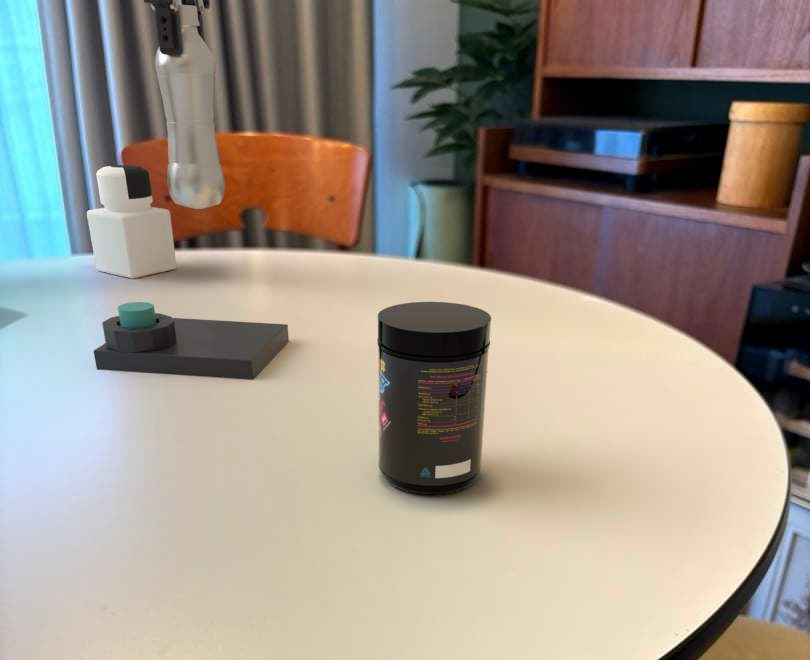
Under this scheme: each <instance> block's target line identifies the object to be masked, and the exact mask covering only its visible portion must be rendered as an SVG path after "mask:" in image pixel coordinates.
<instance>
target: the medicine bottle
mask: <svg viewBox="0 0 810 660" xmlns="http://www.w3.org/2000/svg"><path fill="white" fill-rule="evenodd" d="M95 175H96V182H97V183H96V184H97V188H98V195H99V200H100V204H101V205H103V207H100V208H94V209H89V210H87V212H86V218H87V223H88V224H87V225H88V230H89V235H90V240H91V248H92V253H93V257H94V264H95V265H94V266H95V269H96V271H98V272H102V273H105V272H106V274H110V275H113V276H114V275H115V276H118V277H119V276H120V277H122V278H128V279H137V278H138V279H139V278H141V277H147V276H150V275H155V274H160V273H164V272H169V271H173V270H174V271H175V270H176V269H177V259H176V250H175V242H174V235H173V234H174V233H173V225H172V217H171V212H170V210H169V209H167V208H162V207H161V208H160V207H155V206H151V204H152V203H153V202H154V200H153V193H152V192H153V191H152V186H151V178H150V177H151V176H150V172H149V171H148V170H147V169H146V168H144V167H142V166H140V165H130V164H116V165H107V166H103V167H101V168H100V169H98V170H97V171H96V173H95Z"/></svg>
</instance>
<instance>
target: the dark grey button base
mask: <svg viewBox="0 0 810 660" xmlns="http://www.w3.org/2000/svg"><path fill="white" fill-rule="evenodd" d="M155 316H156V323H157V324H156V325H152V326H148V327H140V328H128V327H121V325H120V319H119V315H116V316H112V317H109V318H108V319H106V320H104V321H102V323H101V324H102V325H101V326H102V330H103V337H104V343H102V345H100V346H98V347H97V348H95V349H94V350H93V356H94V357H93V358H94V362H95V368H96V370H101V371H118V372H130V373H131V372H133V373H146V374H147V373H148V374H163V375H177V376H190V377H191V376H192V377H205V378H206V377H207V378H219V379H220V378H221V379H235V380H236V379H237V380H251V381H252V380H254V379H255V378H256V377H257V376H258V375H259V374H260V373H261V371H263V370H264V368H266V367H267V366H268V364H269V363H271V362H272V360H274V358H275V357H276V356H277V355H278V354H279V353H280V352H281V351H282V350H283V348H285V346H286V345H287V344H288V343H289V342H290V339H289V324H286V323H269V322H253V321H251V322H250V321H237V320H236V321H233V320H216V319H201V318H200V319H198V318H182V317H172V316H170V315H167V314H164V313H159V312H155Z"/></svg>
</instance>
